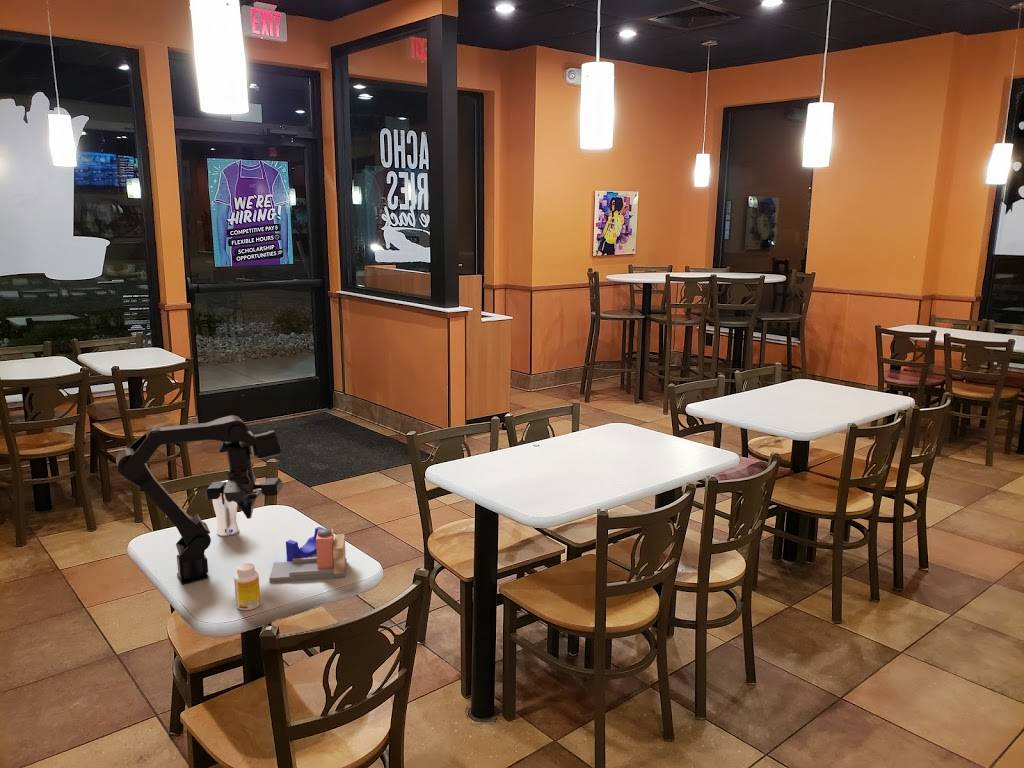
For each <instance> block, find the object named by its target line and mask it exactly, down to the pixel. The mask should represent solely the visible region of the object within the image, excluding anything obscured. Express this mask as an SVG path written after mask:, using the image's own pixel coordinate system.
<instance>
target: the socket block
mask: <svg viewBox="0 0 1024 768" xmlns="http://www.w3.org/2000/svg"><path fill="white" fill-rule="evenodd" d="M345 537H346V536H345V534H344V533H342V534H341V533H340V534H339V533H338V534H335V535H334V545H333V561H334V574H339V573H344V568H345V560H346V559H347V557H346V556H347V554H346V538H345Z"/></svg>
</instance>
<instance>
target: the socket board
mask: <svg viewBox="0 0 1024 768" xmlns="http://www.w3.org/2000/svg"><path fill="white" fill-rule="evenodd" d="M347 560H348V559H347V558H346V560H345V568H344V573H339V574H334V568H330V569H318V567H317V556H314V557H313V556H310V557H308V558H294V559H293V561H291V562H287V561H279V562H273V564H272V569H271V571H270V574H269V579H268V580H269V583H281V582H283V583H284V582H294V581H295V582H296V581H310V580H323V579H322V578H328V579H334V578H333V577H343V578H346V572H347V571H346V570H347V564H348V563H347ZM330 577H331V578H330Z"/></svg>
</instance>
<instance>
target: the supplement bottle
mask: <svg viewBox="0 0 1024 768" xmlns="http://www.w3.org/2000/svg"><path fill="white" fill-rule="evenodd" d="M233 581H234V593H235V603H236V604H235V605H236V608H237V609H238V610H241V611H251V610H255V609H256V608H258V607H259V606H260V604H261V592H260V591H261V590H260V578H259V572H258V571H256V569H255V565H254V564H253V563H250V562H246V563H241V564H239V565H237V567H236V574H234V577H233Z"/></svg>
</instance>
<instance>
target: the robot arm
mask: <svg viewBox="0 0 1024 768" xmlns="http://www.w3.org/2000/svg"><path fill="white" fill-rule="evenodd" d="M277 437H278V436H277V434H276V431H275V430H273V429H271V430H268V431H266V432H262V433H258V434H254V433H253V432H252V431H251V430H249V429H248V427H247V424H246V423H245V422H244V421H243V420H242V419H241V418H240V417H239V416H238V415H232V414H231V415H227V416H224V417H223V416H222V417H219V418H217V419H213V420H212V421H207V422H204V423H203V422H201V423H191V424H182V425H180V424H179V425H171V426H169V425H167V426H153V427H150V428H148V429H147V431H145V433H144V434H142V435H141V436H140V437H139V438H138V439H136V440H135V441H134V442H133V443H132V444H131V445H129V447H128V448H124V449H122V450H120V451H119V452H118V454H117V455H116V458H115V462H116V467H117V472H118V473H119V474H120V476H122V477H123V478H125V479H126V480H128V481H129V482H130V483H132V484H133V485H134V486H136V487H138V488H140V489H141V490H142V491H143V492H144V493H145V494H146V495H147V496H148V498H149V499H150V500H151V501H152V502H153V503H154V504H155V506H157V508H158V509H159V510H160V511H161V512H162V513H163V514H164V515H165V516H166V517H167V518H168V520H169V521H170V522H171V523H172V524H173V525H174V526H175V527H176V529H177V531H178V533H179V535H180V538H179V540H178V541H177V542H176V543H175V546H176V549H177V552H178V554H177V555H176V564H177V573H176V576H177V578H178V580H179V581H180V583H181V585H185V584H186V585H187V584H189V583H194V582H198V581H201V580H205V579H208V578H209V574H208V573H209V564H208V558H207V556H206V554H205V551H206V550H207V549H208V548H209V547H210V546H211V542H212V539H211V536H210V534H211V531H210V529H209V527H208V525H207V523H206V522H204V521H202V519H201V518H200V516H199V514H198V513H196V514H195V515H194V516H191V515H190V514H188V513H187V512H186V511H185V510H184V509H183V508H182V506H181V505H180V504H179V503H178V502H177V501H176V500H175V498H174V497H172V495H171V494H170V493H169V492H168V491H167V489H166V488H165V487H164V486H163V485H162V484H161V483H160V482H159V481H158V480H157V479H156V478H155V476H154V475H153V474H152V471H151V469H150V468H149V466H148V464H147V462H149V460H150V459H151V458H152V456H153V455H154V454H155V452H156V451H157V449H158V448H160V446H161V445H168V444H169V445H171V444H180V443H189V442H199V441H217V442H220V444H219V445H218V446H217V448H216V449H217V450H218V452H219V453H220V454H221V453H226V458H227V463H228V471H227V480H221V482H220V481H213V482H211V484H210V485H209V486H208V487H207V488H206V490H205V491H204V492H205V499H206V500H208V501H211V500H212V499H218V498H219V497H220V496H221V494H220V493H224V494H225V497H226V500H227V501H228V502H231V501H234V502H236V503H237V504H238V507H239V508H240V509H241V511H242V512H243V514H244V516H245V517H246V518H247V519H252V515H253V512H254V507H255V503H256V499H258V497H259V496H260V494H262V495H263V496H265V497H270V496H277V495H278V494H279V493H280V491H281V490H282V488H283V487H284V486H283V480H282V479H281V478H280V477H271V478H270V477H269V478H268V477H267V478H266V479H265V480H264V481H263V482H261V483H260V482H257V483H256V481H257V477H256V476H255V475H254V470H253V467H255V465H254V462H252V457H253V458H255V457H256V459H258V460H259V461H260V460H263V459H268V458H272V457H277V456H280V455H281V452H282V451H281V445H280V443H279V440H278V438H277ZM250 452H251V453H250ZM251 455H252V456H251ZM226 481H228V482H226Z"/></svg>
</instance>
